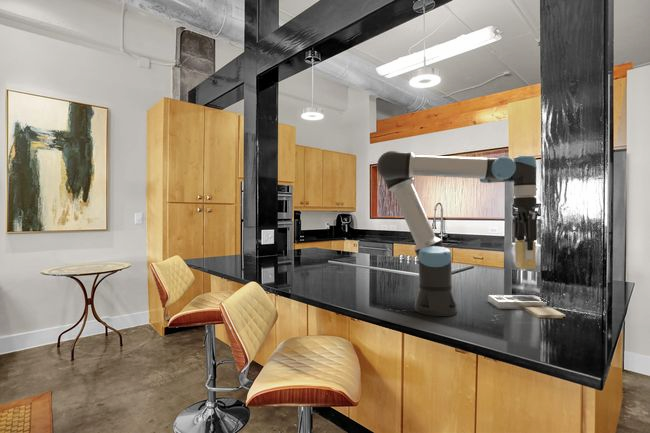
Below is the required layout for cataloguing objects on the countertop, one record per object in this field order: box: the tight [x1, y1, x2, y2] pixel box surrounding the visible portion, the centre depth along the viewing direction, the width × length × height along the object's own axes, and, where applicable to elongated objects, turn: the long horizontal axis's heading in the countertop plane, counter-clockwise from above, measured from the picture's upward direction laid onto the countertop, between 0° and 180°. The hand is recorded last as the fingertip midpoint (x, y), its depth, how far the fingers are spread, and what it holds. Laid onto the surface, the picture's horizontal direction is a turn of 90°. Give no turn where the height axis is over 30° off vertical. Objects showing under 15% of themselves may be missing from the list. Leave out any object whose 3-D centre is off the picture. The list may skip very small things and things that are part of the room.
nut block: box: [514, 240, 537, 270], centre depth 129 cm, size 5×5×10 cm
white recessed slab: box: [487, 294, 547, 310], centre depth 130 cm, size 18×10×3 cm, turn 84°
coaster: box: [523, 306, 567, 319], centre depth 119 cm, size 9×9×2 cm
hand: (525, 257), depth 129 cm, fingers closed on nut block, 5 cm apart
